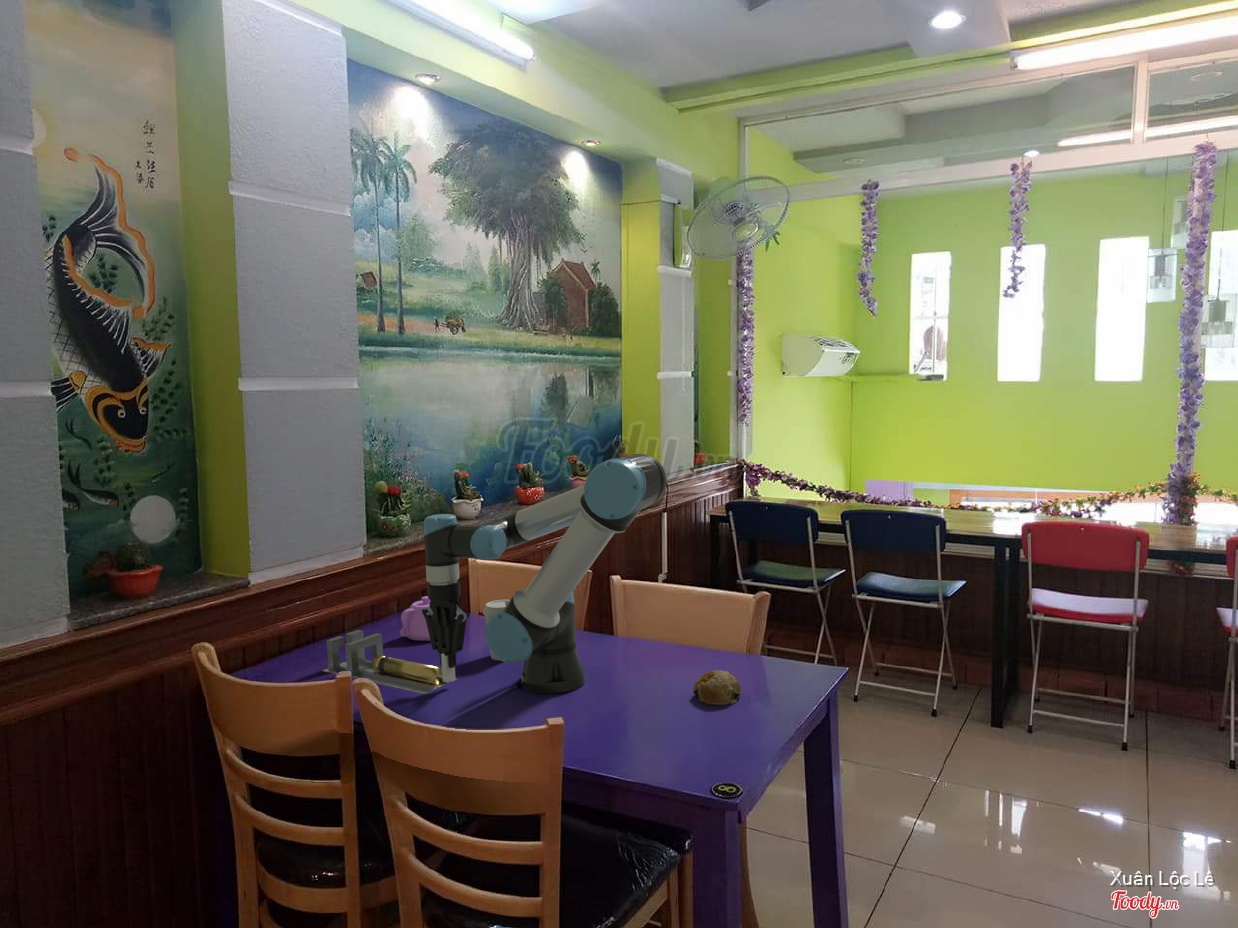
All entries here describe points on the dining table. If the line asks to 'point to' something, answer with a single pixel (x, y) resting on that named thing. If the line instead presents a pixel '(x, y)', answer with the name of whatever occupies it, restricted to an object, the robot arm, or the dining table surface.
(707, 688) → the bread roll
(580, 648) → the dining table surface
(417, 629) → the teapot
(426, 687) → the collar base
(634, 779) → the dining table surface
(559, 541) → the robot arm
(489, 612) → the coffee cup
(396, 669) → the tube
